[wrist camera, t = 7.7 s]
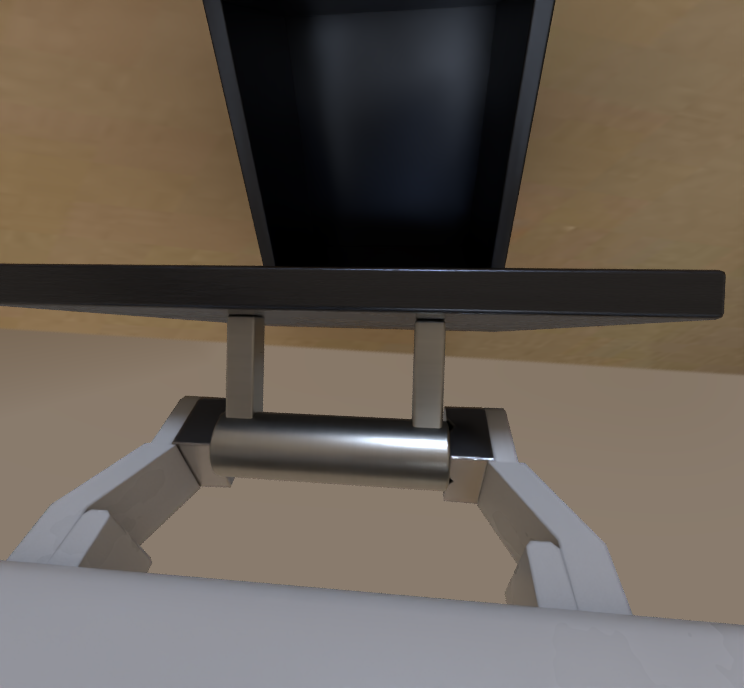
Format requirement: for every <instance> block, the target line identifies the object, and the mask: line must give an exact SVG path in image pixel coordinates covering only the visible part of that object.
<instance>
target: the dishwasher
mask: <svg viewBox="0 0 744 688" xmlns="http://www.w3.org/2000/svg"><path fill="white" fill-rule="evenodd" d="M203 4H204V9H205V13H206V18H207V22H208V26H209V31H210V35H211V39H212V44H213V48H214V52H215V57H216V61H217V65H218V70H219V74H220V79H221V83H222V87H223V92H224V96H225V100H226V105H227V109H228V113H229V118H230V122H231V126H232V131H233V135H234V140H235V144H236V148H237V153H238V157H239V161H240V166H241V170H242V174H243V179H244V183H245V188H246V192H247V196H248V201H249V205H250V209H251V214H252V218H253V222H254V227H255V231H256V235H257V240H258V244H259V249H260V253H261V257H262V262H263V266H334V267H446V268H505V263H506V258H507V253H508V248H509V242H510V237H511V232H512V227H513V221H514V216H515V211H516V206H517V200H518V195H519V190H520V184H521V179H522V174H523V169H524V163H525V158H526V153H527V148H528V142H529V137H530V132H531V127H532V121H533V116H534V111H535V105H536V100H537V95H538V90H539V84H540V79H541V74H542V69H543V63H544V58H545V53H546V47H547V42H548V37H549V32H550V26H551V21H552V16H553V11H554V5H555V0H203Z"/></svg>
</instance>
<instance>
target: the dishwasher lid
mask: <svg viewBox="0 0 744 688" xmlns="http://www.w3.org/2000/svg"><path fill="white" fill-rule="evenodd" d="M725 278H726V275H725V272H723V271H720V270H669V269H557V268H446V267H334V266H222V265H111V264H0V306H10V307H23V308H36V309H50V310H63V311H77V312H90V313H104V314H117V315H131V316H144V317H158V318H171V319H185V320H198V321H212V322H225V323H227V371H226V412H225V413H224V414H222V416H221V417H220V418H219V419H218V421H217V423H216V425H215V428H214V430H213V433H212V437H211V442H210V463H211V467H212V469H213V471H214V472H215V473H216V474H217V475H219V476H223V477H238V478H253V479H268V480H284V481H297V482H312V483H313V482H314V483H328V484H343V485H357V486H372V487H387V488H402V489H418V490H432V491H446V490H447V488H448V485H449V478H450V434H449V427H448V424H447V422H446V421H443V394H444V363H445V362H444V361H445V331H446V330H449V331H488V332H498V331H516V330H534V329H553V328H571V327H589V326H608V325H626V324H644V323H662V322H681V321H699V320H716V319H719V318H721V317H722V316H723V314H724V298H725ZM265 325H266V326H291V327H330V328H370V329H409V330H414V364H413V398H412V399H413V400H412V419H395V418H375V417H354V416H334V415H313V414H293V413H273V412H263V377H264V376H263V375H264V328H265Z"/></svg>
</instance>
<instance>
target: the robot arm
mask: <svg viewBox="0 0 744 688" xmlns="http://www.w3.org/2000/svg"><path fill="white" fill-rule="evenodd" d="M225 412H226V398H218V397H198V396H185V397H184V398H182V399H180V401H179V402H178V404H177V405H176V407H175V408H174V410H173V411H172V412H171V414H170V416H169V417H168V418H167V420H166V421H165V423H164V424H163V426H162V427H161V429H160V430H159V432H158V434H157V435H156V436H155V438H154V439H153V441H152V442H151V443H145V444H143V445H142V446H140V447H139V448H137V449H136V450H134V451H133V452H131V453H129V454H128V455H126V456H125V457H123V458H122V459H120V460H119V461H117V462H116V463H114V464H112V465H111V466H109V467H108V468H106V469H105V470H103V471H102V472H100V473H99V474H97V475H95V476H94V477H92V478H91V479H89V480H88V481H86V482H85V483H83V484H82V485H80V486H78V487H77V488H75V489H74V490H72V491H71V492H69V493H68V494H66V495H65V496H63V497H62V498H60V499H58V500H57V501H55V502H54V503H52V504H51V505H50V506H49V507H48V509H47V510H46V511H45V512H44V514H43V515H42V516H41V517H40V519H39V520H38V521H37V522H36V524H35V525H34V526H33V527H32V529H31V530H30V531H29V532H28V534H27V535H26V536H25V537H24V539H23V540H22V541H21V543H20V544H19V545H18V546H17V547H16V549H15V550H14V551H13V552H12V554H11V555H10V556H9V558H8V559H7V560H6V561H4V560H0V688H744V625H738V624H726V623H715V622H703V621H691V620H681V619H669V618H658V617H647V616H635V615H633V614H632V612H631V609H630V607H629V604H628V601H627V598H626V596H625V593H624V591H623V588H622V585H621V583H620V580H619V577H618V575H617V572H616V570H615V567H614V564H613V562H612V559H611V556H610V554H609V551H608V548H607V546H606V544H605V543H604V542H603V541H602V540H601V539H600V538H599V537H598V536H597V535H596V534H595V533H594V532H593V531H592V530H591V529H590V528H589V527H588V526H587V525H586V524H585V523H584V522H583V521H582V520H581V519H580V518H579V517H578V516H577V515H576V514H575V513H574V512H573V511H572V510H571V509H570V508H569V507H568V506H567V505H566V504H565V503H564V502H563V501H562V500H561V499H560V498H559V497H558V496H557V495H556V494H555V493H554V492H553V491H552V490H551V489H550V488H549V487H548V486H547V485H546V484H545V483H544V482H543V481H542V480H541V479H540V478H539V477H538V476H537V475H536V474H535V473H534V472H533V471H532V470H531V469H530V468H529V467H528V466H527V465H526V464H525V463H520V462H518V458H517V454H516V450H515V446H514V442H513V438H512V435H511V430H510V426H509V423H508V419H507V414H506V411H505V410H504V409H503V408H481V407H446V406H445V407H444V412H443V421H446V422H447V424H448V427H449V434H450V478H449V485H448V488H447V490H446V491H443V496H444V501H452V502H464V503H474V504H478V507H479V508H480V510H481V512H482V513H483V514H484V516H485V517H486V519H487V520H488V522H489V523H490V525H491V526H492V528H493V529H494V531H495V532H496V534H497V535H498V536H499V538H500V539H501V541H502V542H503V544H504V545H505V547H506V548H507V550H508V551H509V553H510V554H511V555H512V557H513V558H514V560H515V561H516V563H517V564H518V565H517V567H516V569H515V571H514V574H513V576H512V578H511V580H510V582H509V584H508V587H507V589H506V591H505V596H506V603H507V604H498V603H487V602H475V601H464V600H451V599H441V598H429V597H418V596H406V595H395V594H383V593H372V592H361V591H349V590H338V589H326V588H315V587H304V586H292V585H281V584H270V583H258V582H246V581H234V580H224V579H213V578H200V577H190V576H178V575H166V574H154V573H147V572H148V570H149V568H150V566H151V564H152V561H151V557H150V556H149V555H148V554H147V553H146V552H145V551H144V550H143V549H142V548H141V547H140V545H141V544H142V543H143V542H144V541H145V540H146V539H147V538H148V537H150V536H151V535H152V534H153V533H154V532H155V531H156V530H157V529H158V528H159V527H160V526H161V525H162V524H163V523H164V522H165V521H166V520H167V519H168V518H170V516H172V515H173V514H174V513H175V512H176V511H177V510H178V509H179V508H180V507H181V506H182V505H183V504H184V503H185V502H186V501H187V500H188V499H189V498H191V497H192V496H193V495H194V494H195V493H196V492H197V491H198V490H199V489H200V486H205V487H231V485H232V483H233V480H234V478H235V477H223V476H219V475H217V474H216V473H215V472H214V471H213V469H212V467H211V463H210V442H211V437H212V433H213V430H214V428H215V425H216V423H217V421H218V419H219V418H220V417H221V416H222V414H224V413H225Z"/></svg>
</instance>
